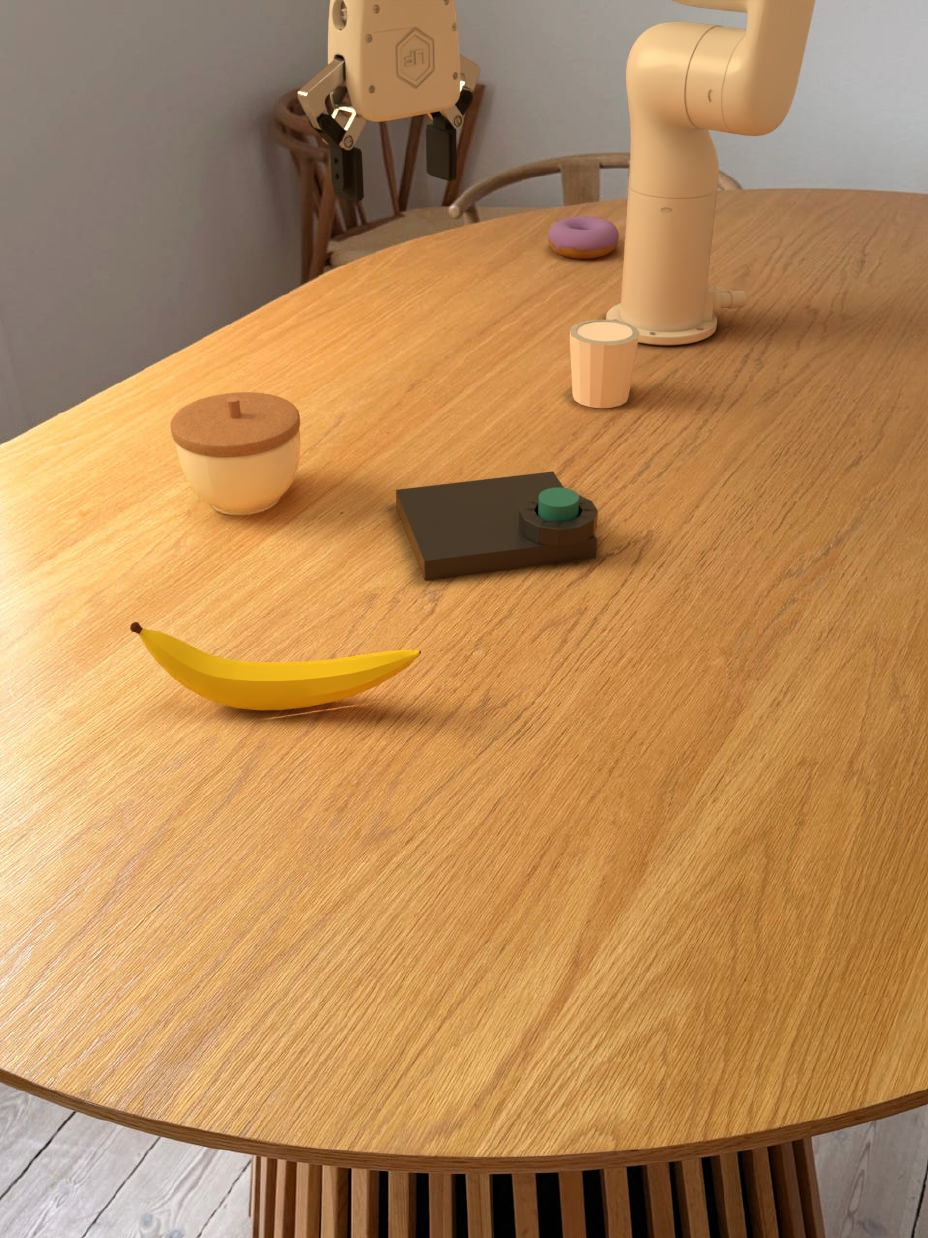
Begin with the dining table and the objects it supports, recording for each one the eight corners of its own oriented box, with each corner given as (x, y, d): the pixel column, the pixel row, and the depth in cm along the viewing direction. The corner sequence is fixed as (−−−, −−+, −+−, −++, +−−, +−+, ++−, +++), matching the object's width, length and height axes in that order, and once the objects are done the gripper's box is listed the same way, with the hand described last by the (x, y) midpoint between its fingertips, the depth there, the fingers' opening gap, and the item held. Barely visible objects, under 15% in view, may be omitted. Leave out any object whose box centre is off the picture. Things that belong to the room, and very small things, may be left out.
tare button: (571, 502, 99) (572, 485, 98) (583, 520, 96) (584, 503, 95) (533, 506, 98) (534, 489, 97) (544, 525, 96) (545, 508, 95)
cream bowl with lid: (326, 480, 109) (318, 382, 103) (273, 538, 100) (261, 434, 95) (220, 463, 112) (207, 367, 106) (159, 518, 103) (142, 416, 98)
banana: (420, 725, 80) (418, 646, 77) (138, 714, 81) (123, 636, 78) (425, 698, 83) (422, 621, 79) (151, 687, 84) (136, 611, 80)
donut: (609, 262, 157) (604, 224, 155) (542, 269, 161) (536, 233, 159) (629, 240, 165) (624, 204, 163) (564, 247, 169) (558, 212, 166)
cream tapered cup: (633, 384, 126) (638, 319, 122) (635, 412, 120) (640, 344, 116) (567, 382, 127) (570, 317, 123) (565, 409, 121) (568, 342, 117)
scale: (558, 489, 107) (560, 453, 105) (604, 561, 97) (607, 523, 95) (396, 508, 104) (394, 472, 102) (426, 585, 94) (425, 546, 92)
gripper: (323, -38, 83) (338, 216, 92) (508, -54, 92) (504, 178, 102) (262, -46, 88) (282, 197, 97) (444, -61, 97) (446, 162, 107)
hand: (396, 187), depth 100 cm, fingers open, 9 cm apart
